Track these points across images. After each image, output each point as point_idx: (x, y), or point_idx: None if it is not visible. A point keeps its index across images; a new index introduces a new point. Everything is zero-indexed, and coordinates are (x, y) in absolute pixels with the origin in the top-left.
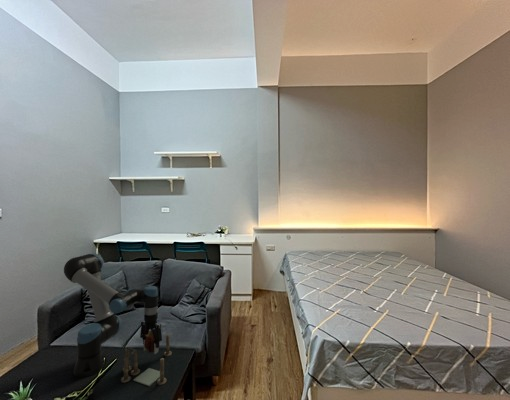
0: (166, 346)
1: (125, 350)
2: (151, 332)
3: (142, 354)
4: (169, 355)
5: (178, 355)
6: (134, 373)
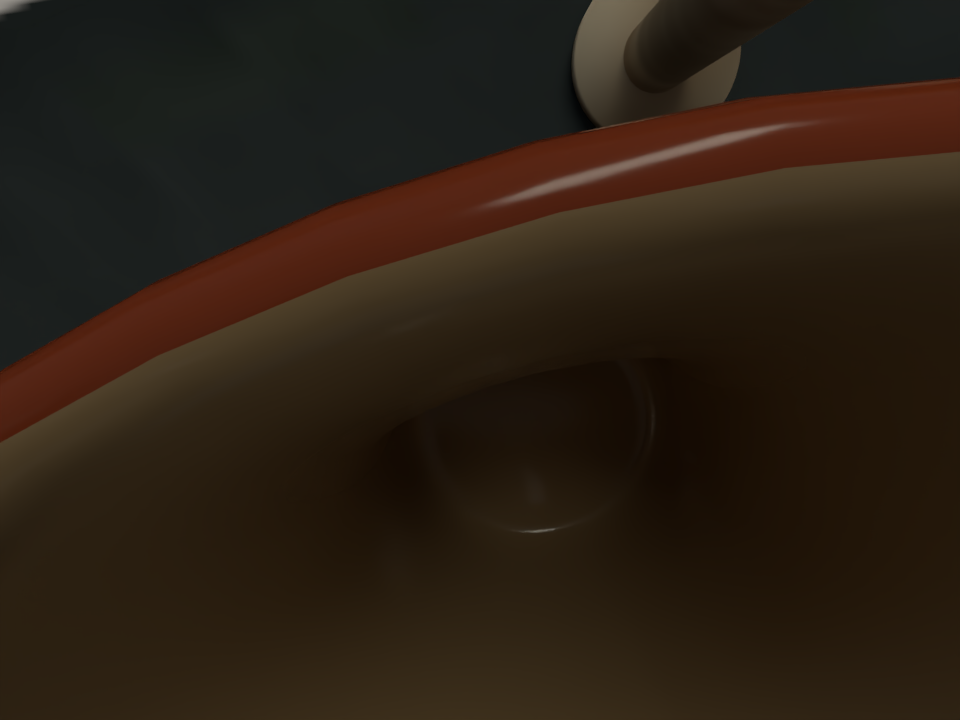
0: (720, 42)
1: None
2: (99, 655)
3: (184, 253)
4: (718, 101)
5: (893, 24)
6: None
